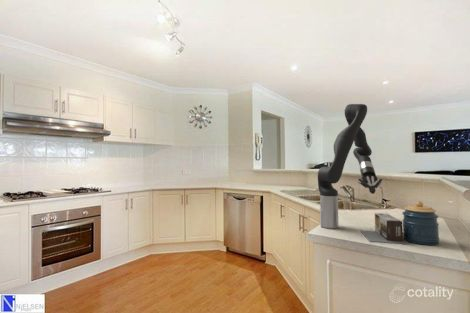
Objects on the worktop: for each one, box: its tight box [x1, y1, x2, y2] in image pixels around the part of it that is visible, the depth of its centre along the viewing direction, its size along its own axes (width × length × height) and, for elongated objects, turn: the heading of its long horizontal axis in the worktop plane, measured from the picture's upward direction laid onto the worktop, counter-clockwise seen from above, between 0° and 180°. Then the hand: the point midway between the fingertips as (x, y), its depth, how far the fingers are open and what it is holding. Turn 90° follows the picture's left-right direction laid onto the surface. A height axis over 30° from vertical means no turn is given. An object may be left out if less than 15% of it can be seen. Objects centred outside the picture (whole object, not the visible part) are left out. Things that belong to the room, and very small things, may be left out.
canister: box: [401, 201, 440, 246], centre depth 108 cm, size 13×13×18 cm
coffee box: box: [374, 212, 404, 241], centre depth 114 cm, size 9×6×16 cm
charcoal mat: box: [360, 229, 409, 245], centre depth 113 cm, size 15×17×1 cm
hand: (373, 192), depth 134 cm, fingers closed
